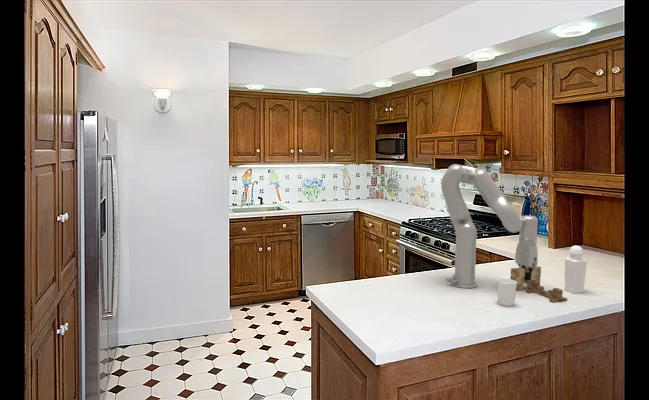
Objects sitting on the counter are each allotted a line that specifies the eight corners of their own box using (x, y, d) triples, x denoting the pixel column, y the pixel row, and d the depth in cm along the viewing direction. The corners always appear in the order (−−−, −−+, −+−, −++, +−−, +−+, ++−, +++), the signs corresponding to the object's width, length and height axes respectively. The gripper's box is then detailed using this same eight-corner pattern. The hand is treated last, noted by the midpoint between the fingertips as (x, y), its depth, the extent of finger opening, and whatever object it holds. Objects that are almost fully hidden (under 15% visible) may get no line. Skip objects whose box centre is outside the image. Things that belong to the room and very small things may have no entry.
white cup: (495, 299, 195) (496, 278, 194) (514, 301, 193) (515, 279, 192) (497, 305, 188) (497, 283, 187) (516, 307, 186) (518, 284, 185)
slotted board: (513, 290, 208) (514, 269, 207) (509, 288, 210) (511, 268, 209) (539, 287, 213) (541, 267, 212) (536, 285, 215) (537, 266, 214)
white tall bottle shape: (585, 293, 204) (588, 246, 202) (572, 294, 203) (575, 247, 201) (575, 288, 210) (577, 243, 208) (562, 289, 209) (565, 244, 207)
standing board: (567, 300, 194) (567, 289, 193) (553, 302, 191) (553, 291, 191) (538, 290, 209) (539, 279, 208) (525, 291, 206) (525, 281, 206)
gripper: (509, 238, 215) (507, 275, 217) (534, 245, 200) (532, 284, 202) (521, 238, 218) (519, 274, 220) (547, 244, 203) (544, 283, 205)
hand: (525, 278), depth 211 cm, fingers closed on slotted board, 2 cm apart
